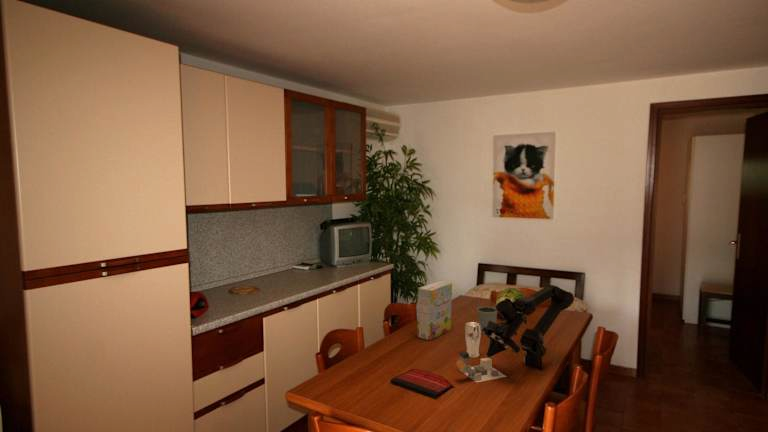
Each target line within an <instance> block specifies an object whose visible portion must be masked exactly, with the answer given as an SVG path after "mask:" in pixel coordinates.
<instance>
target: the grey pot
mask: <svg viewBox="0 0 768 432" xmlns="http://www.w3.org/2000/svg"><path fill="white" fill-rule="evenodd" d="M497 315H498V311H497V310H496V307H492V306H480V307H479V306H478V307H477V316H478V318H477V319H478V320H477V321H478V322H477V323H479V324H480V328H481V334H484V333H483V332H482V329H483V328H484V327H487V325H488V322H489V320H490V321H493V322H495V323H497V318H498V317H497ZM484 335H485V334H484Z"/></svg>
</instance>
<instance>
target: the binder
mask: <svg viewBox="0 0 768 432" xmlns="http://www.w3.org/2000/svg"><path fill="white" fill-rule="evenodd" d="M391 383H392V384H391ZM390 384H391V385H393V386H397V387H399V386H400V387H399V388H403V389H405V390H408V391H411V392H414V393H418V394H420V395H422V396H423V395H424V396H425V397H429V398H431V399H435V400H437V396H439V395H440V394H441V395H444V394H445V393H447V392H449V390H451V389H452V388H454V385H453V384H452V383H451V382H449V380H448V379H446V378H445V377H443V376H441V375H438V374H436V373H435V374H434V373H431V372H429V371H426V370H421V369H418V368H411V369H409V370H407V371H405V372H403V373H401V374H398V375H397V376H394V377H392V378H390Z"/></svg>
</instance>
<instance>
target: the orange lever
mask: <svg viewBox="0 0 768 432" xmlns="http://www.w3.org/2000/svg"><path fill="white" fill-rule="evenodd" d="M455 365H456V366H457V368H458V367H460V368H461V369H462V370H465V371H466V372H468V373H469V374H470V375H472V376H473V377H474V374H477V373H476V372H475V371H474V370H472V369H471V368H470V367H468V366H467V365H466V364H465V363H464V362H462V361H461V360H460V358H458V359H457V361H456V362H455Z"/></svg>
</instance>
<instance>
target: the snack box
mask: <svg viewBox="0 0 768 432" xmlns="http://www.w3.org/2000/svg"><path fill="white" fill-rule="evenodd" d="M452 290H453V283H452V282H449V281H443V280H442V281H441V280H438V281H436V282H432V283H429V284H427V285H423V286H420V287H417V320H416V321H417V322H416V323H417V326H416V329H417V330H416V337H417V338H419V339H422V340H426V341H431V340H433V339H435V338H437V337H440V336H441V335H443V334H445V333H447V332H448V331H450V330H451V329H452V297H453V296H452V294H453V293H452V292H453V291H452Z"/></svg>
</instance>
